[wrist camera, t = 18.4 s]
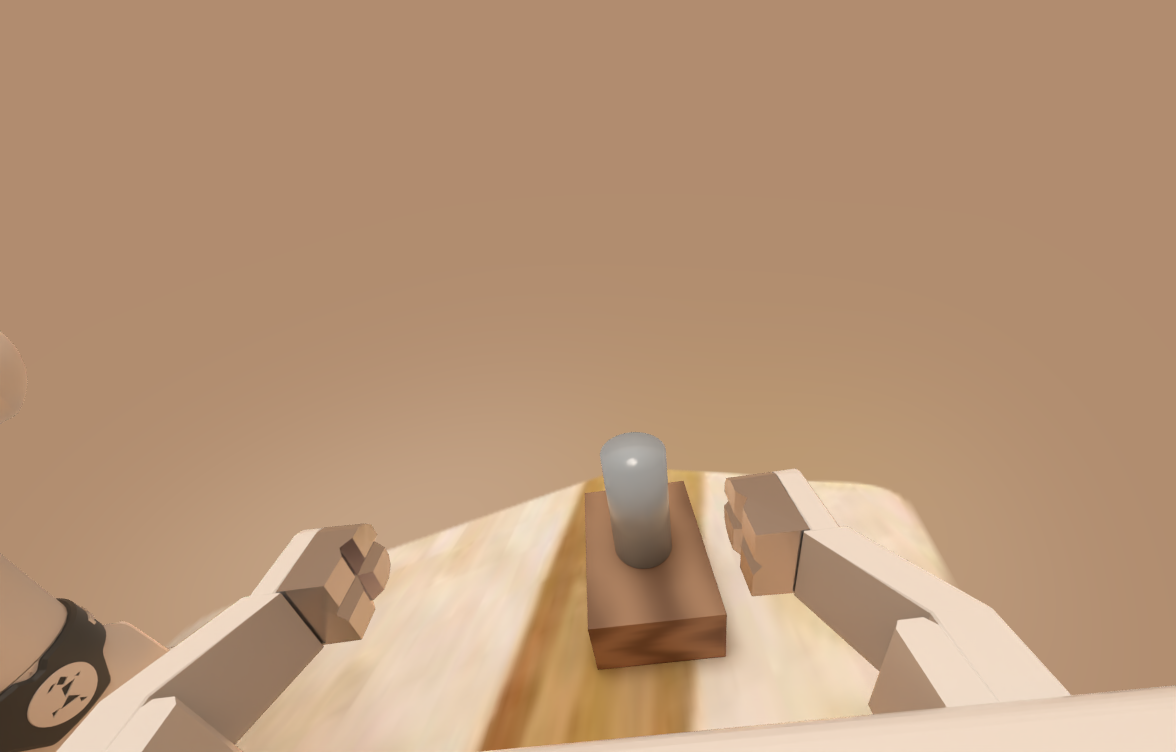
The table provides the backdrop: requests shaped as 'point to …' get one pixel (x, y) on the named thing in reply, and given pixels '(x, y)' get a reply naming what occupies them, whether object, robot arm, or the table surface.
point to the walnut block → (652, 594)
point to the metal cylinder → (638, 498)
